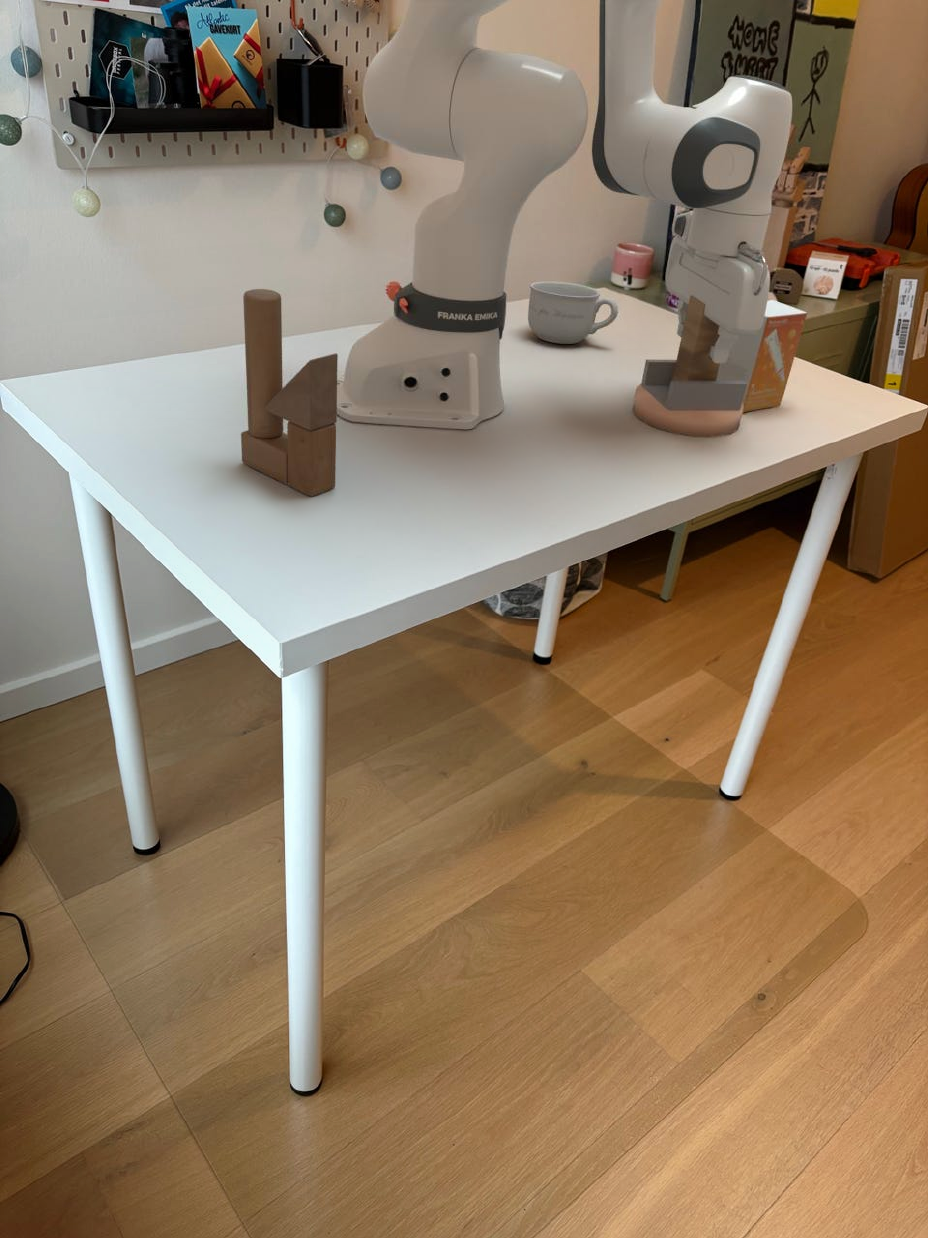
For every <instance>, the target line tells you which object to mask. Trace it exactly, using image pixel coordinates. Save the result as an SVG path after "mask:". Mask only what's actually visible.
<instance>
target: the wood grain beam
mask: <svg viewBox="0 0 928 1238" xmlns="http://www.w3.org/2000/svg"><path fill="white" fill-rule="evenodd" d="M704 309H705V304H704V303H702V302H701V301H699V300H698V299H696V298H695V297H693V296H692V295H690V300H689V304H688V309H687V314H686V318H685V323H684V328H683V332H682V337H680V342H679V347H678V352H677V356H676V359H675V360H676V365H675V370H674V374H673V379H672V381H716V379H717V375H718V370H719V366H720V363H715V362H714V361H712V360H711V359H710V358H709V354H710V348H711V345H715V344H716V342H717V340H718V338H719V336H720V335H719V334H718V330H719V325H717V324H716V323H714V322H713V321H711V320H710V319H709V318H707V317H706V316H704Z"/></svg>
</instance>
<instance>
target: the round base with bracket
mask: <svg viewBox="0 0 928 1238" xmlns="http://www.w3.org/2000/svg"><path fill="white" fill-rule="evenodd" d="M676 360H677V359H652V358H651V359H650V358H649V359H645V363H644V368H643V373H642V378H641V382H640V384H638V385H637V386H636V389H635V392H634V399H633V404H632V412H633V414H634V413H635V414H634V415H635V416H636V417H637V418H638V419H639V420H641V421H642V422H644V423H646V424H648V425H650V426H651V427H654V428H656V429H660V430H662V431H665V432H669V433H673V434H677V435H678V434H679V435H684V436H691V437H702V438H705V437H706V438H715V437H722V436H727V435H731V434H732V433H735V432H736V431H737V430H738V429H739V427H740V425H741V424H740V423H741V419H742V416H743V413H744V412H743V409H744V405H743V403H742V401H743V397H744V393H745V389H746V385H747V384H746V383H745V382H744V381H672V379H673V374H674V370H675V365H676Z"/></svg>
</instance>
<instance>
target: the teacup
mask: <svg viewBox="0 0 928 1238" xmlns="http://www.w3.org/2000/svg"><path fill="white" fill-rule="evenodd" d="M529 287H530V294H529V301H528V309H527V311H528V312H527V321H528V322H527V323H528V326H529V327H530V329H531V330H532V332H534V333H535V335H536V337H538V339H540V340H543V341H545V342H550V343H553V344H559V345H561V344H562V345H572V344H577V343H580V342H581V341H582V340H583V339H585V338H586V337H588V336H589V335H594V334H596V332H597V331H599V330H600V329H603V328H605V327H608V326H609V325H611V324H613V322H614V321H615V320H616V318H617V317H618V313H619V308H618V303H617V301H615V300H614V299H613V298H611V297H608V296H607V297H606V296H605V297H601V298H600V296H601V292H600V291H599V290H598V289H595V288H594V287H591V286H586V285H584V284H579V283H572V282H566V281H565V282H564V281H553V280H551V281H549V280H548V281H537V282H532V283H531V284H530V285H529ZM603 305H608V306H609V308H610V312H611V313H610V315H608V317H607V318H606V319H604V320H602V321H600V322H596V323H595V321H596V317H597V313H599V310H600V308H601V307H602V306H603Z"/></svg>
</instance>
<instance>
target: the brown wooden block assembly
mask: <svg viewBox="0 0 928 1238" xmlns="http://www.w3.org/2000/svg"><path fill="white" fill-rule="evenodd" d="M282 316H283V314H282V296H281V294H280V293H279V292H277V291H275V290H272V289H267V288H266V289H265V288H264V289H263V288H253V289H249V290H246V291H245V292H244V294H243V321H244V324H243V325H244V327H243V328H244V349H245V350H244V351H245V353H244V354H245V373H246V374H245V375H246V378H245V379H246V401H247V403H246V404H247V427H248V428H247V429H248V430H244V431H242V432H241V433H240V440H241V441H240V443H241V461H242V464H245V465H246V466H248V467H249V468H252V469H254V470H256V471H259V472H261V473H262V474H264V475H267V476H269V477H270V478H272V479H275V480H276V481H279V482H280V483H282V484H285V485H288V486H289V487H290V488H292V489H294V490H296V491H297V492H300V493H302V494H305V495H306V496H308V497H315V496H317V495H320V494H322V493H325V492H328V491H329V490H332V489H335V487H336V466H337V465H336V459H337V424H336V423H337V421H338V419H337V415H338V414H337V376H338V357H339V356H338V355H339V354H338V353H332V354H328V355H324V356H319V357H316V358H312V359H310V360H309V361H307V363H306V364H305V365H304V366H302V368H300V370H299V371H298V372H297V373H296V374H295V375H294V376H293V377H292V378H291V379H290V380H289V381H288V382H287V383H286V384H285V385H283V383H284V382H283V380H284V379H283V334H282V333H283V330H282V328H283V327H282V326H283V324H282V323H283V322H282ZM284 420H285V421H288V422H287V425H286V426H287V431H286V432H287V433H285V432H284Z"/></svg>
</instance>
